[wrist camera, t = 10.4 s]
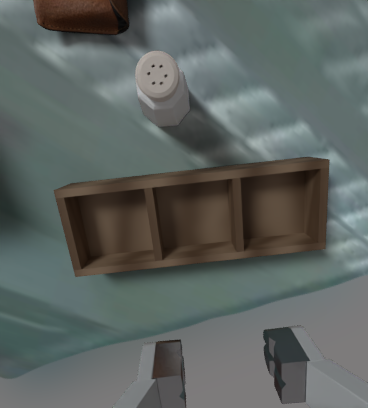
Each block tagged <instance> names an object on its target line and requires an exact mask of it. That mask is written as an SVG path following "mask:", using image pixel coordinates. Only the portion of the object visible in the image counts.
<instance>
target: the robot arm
mask: <svg viewBox="0 0 368 408" xmlns="http://www.w3.org/2000/svg"><path fill="white" fill-rule="evenodd" d="M263 338H264V340H265V343H266V345H265V346H264V356H265V361H266V365H267V368H268V371H269V373H270V375H272V376H273V377H274V385H275V388H276V391H277V393H278V396H279V398H280V400H281V403H282V404H287V403H299V402H306V404H307V405H308V406H309V407H310V408H368V383H367V382H366V381H364V380H363V379H361V378H359V377H358V376H356V375H354V374H353V373H351V372H350V371H348V370H346V369H345V368H343V367H342V366H340V365H338V364H337V363H335V362H333V361H332V360H330V359H325V358H324V356H323V355H322V353H321V352H320V351H319V349H318V348H317V346H316V345H315V343H314V342H313V340H312V339H311V338H310V336H309V334H308V333H307V332H306V330H305V329H304V327H303V326H301V325H299V326H291V327H283V328H275V329H267V330H264V332H263ZM112 408H186V393H185V368H184V359H183V356H182V344H181V340H169V341H158V342H150V343H144V345H143V348H142V353H141V360H140V365H139V371H138V377H137V381H134V382H132V383H131V385H130V386H129V387H128V388H127V390H126V391H125V392H124V394H123V395H122V396H121V398H120V399H119V400H118V401H117V403H116V404H115V405H114V406H113V407H112Z"/></svg>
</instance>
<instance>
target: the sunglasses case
mask: <svg viewBox="0 0 368 408" xmlns="http://www.w3.org/2000/svg"><path fill="white" fill-rule="evenodd" d="M33 1H34V8H35V13H36V18H37V23H38V24H39V25H40V26H42V27H43V28H45V29H47V30H52V31H61V32H72V33H89V34H108V35H117V34H120V33H123V32H125V31H126V30H127V29H128V28H129V18H128V7H127V0H33Z"/></svg>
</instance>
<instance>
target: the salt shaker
mask: <svg viewBox="0 0 368 408" xmlns="http://www.w3.org/2000/svg"><path fill="white" fill-rule="evenodd" d="M135 77H136V85H137V93H138V99H139V102H140V105H141V109H142V112H143V114H144V115H145V116H146V117H147V118H148V119H149V120H151V121H152V122H153V123H154V124H155V125H157V126H158V127H166V126H177V125H178V124H179V123H180V122H181V121H182V119H183V118H184V117H185V115H186V114H187V113H188V112H189V110H190V103H189V91H188V86H187V83H186V79H185V76H184V73H183V71H182V70H181V69H180V68H179V67H178V65H177V63H176V62H175V60H174V59H173V58H172V57H171V56H170V55H169V54H167V53H165V52H162V51H151V52H149V53H147V54H145V55H144V56H143V57H142V58H141V59H140V60H139V62H138V64H137V67H136V72H135Z"/></svg>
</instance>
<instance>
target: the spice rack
mask: <svg viewBox="0 0 368 408" xmlns="http://www.w3.org/2000/svg"><path fill="white" fill-rule="evenodd" d="M328 179H329V159H321V158H313V157H302V158H293V159H284V160H275V161H267V162H258V163H249V164H240V165H231V166H222V167H213V168H204V169H195V170H187V171H178V172H169V173H160V174H151V175H142V176H133V177H124V178H115V179H107V180H98V181H89V182H80V183H71V184H69V185H66V186H64V187H61V188H59V189H56V190H54V194H55V198H56V202H57V205H58V209H59V213H60V217H61V221H62V225H63V229H64V233H65V237H66V241H67V245H68V249H69V253H70V257H71V261H72V265H73V269H74V273H75V277H79V276H88V275H97V274H106V273H115V272H124V271H133V270H142V269H151V268H160V267H169V266H178V265H187V264H196V263H205V262H214V261H223V260H232V259H241V258H250V257H259V256H268V255H277V254H286V253H295V252H303V251H312V250H321V249H325V245H326V223H327V201H328Z"/></svg>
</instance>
